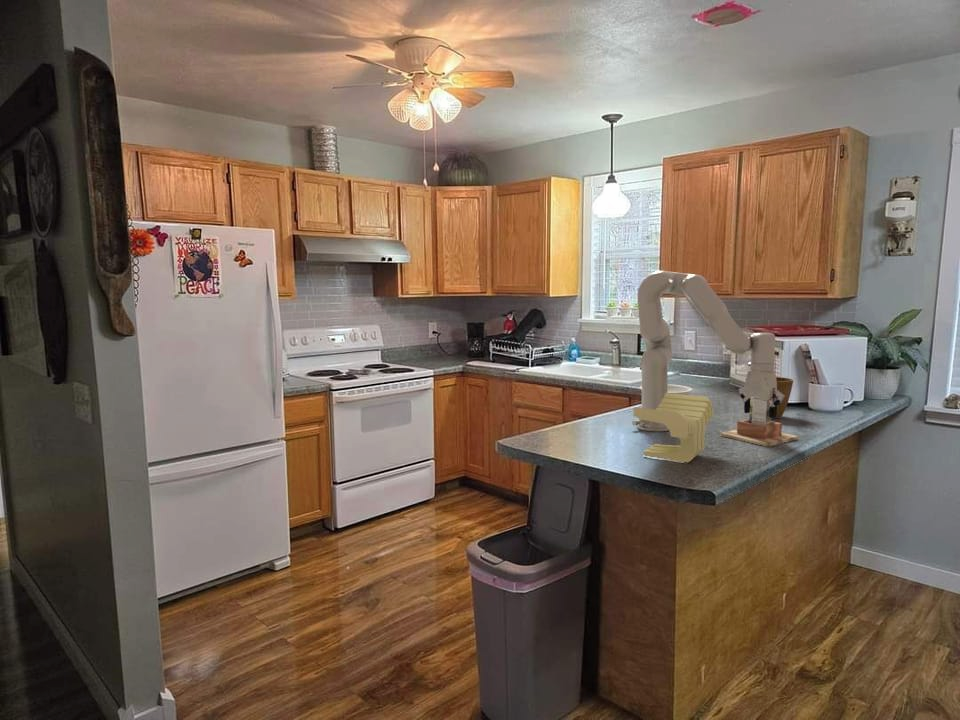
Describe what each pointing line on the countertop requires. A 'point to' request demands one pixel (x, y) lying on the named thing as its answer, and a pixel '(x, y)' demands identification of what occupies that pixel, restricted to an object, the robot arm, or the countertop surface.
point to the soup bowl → (677, 389)
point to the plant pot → (785, 388)
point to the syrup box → (759, 411)
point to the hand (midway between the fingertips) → (759, 415)
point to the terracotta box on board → (759, 433)
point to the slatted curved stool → (679, 425)
